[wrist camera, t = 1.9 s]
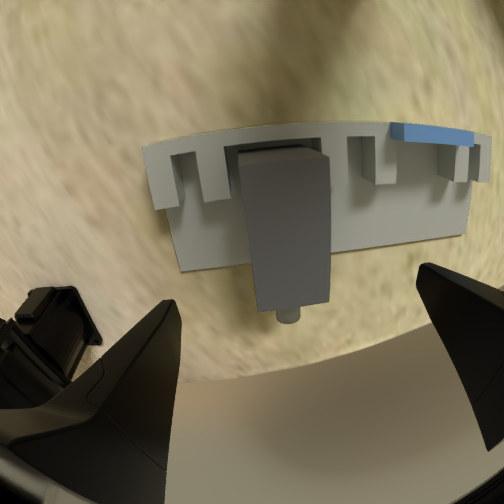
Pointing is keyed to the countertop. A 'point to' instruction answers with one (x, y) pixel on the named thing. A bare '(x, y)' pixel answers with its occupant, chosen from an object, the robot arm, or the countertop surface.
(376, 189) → the grey toothed rack
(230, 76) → the countertop surface
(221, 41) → the countertop surface
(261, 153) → the dark grey knobbed block
